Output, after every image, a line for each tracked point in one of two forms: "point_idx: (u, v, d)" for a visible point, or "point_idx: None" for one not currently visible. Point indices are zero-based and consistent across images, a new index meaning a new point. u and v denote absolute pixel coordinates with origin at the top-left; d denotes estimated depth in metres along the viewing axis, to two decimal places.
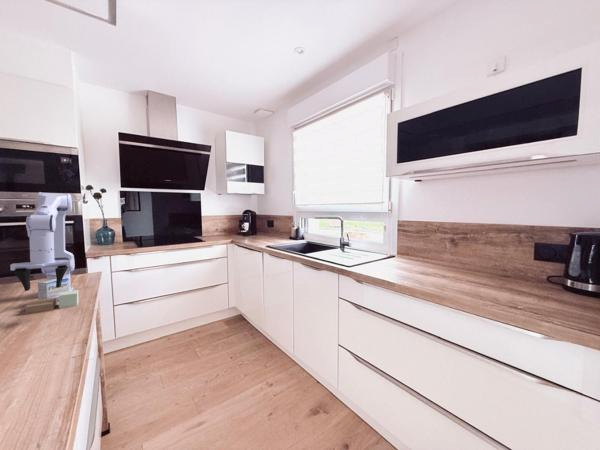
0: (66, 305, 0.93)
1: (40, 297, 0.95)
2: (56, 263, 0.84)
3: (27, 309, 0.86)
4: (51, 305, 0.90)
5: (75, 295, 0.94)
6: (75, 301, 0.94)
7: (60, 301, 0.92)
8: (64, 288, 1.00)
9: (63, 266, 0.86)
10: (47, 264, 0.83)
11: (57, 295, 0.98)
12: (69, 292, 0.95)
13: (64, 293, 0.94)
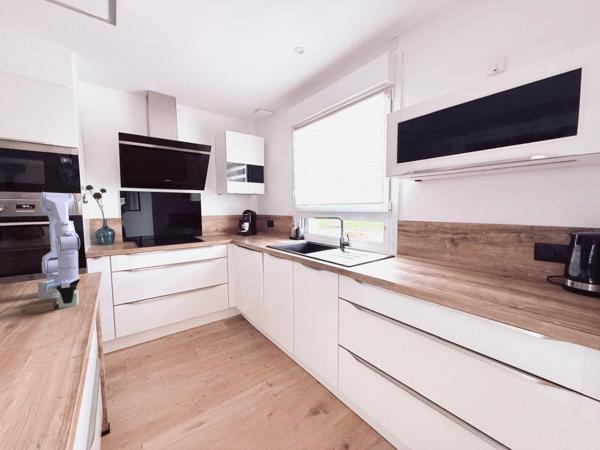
0: (66, 305, 0.93)
1: (40, 297, 0.95)
2: (60, 281, 0.90)
3: (27, 309, 0.86)
4: (51, 305, 0.90)
5: (74, 295, 0.94)
6: (75, 301, 0.94)
7: (60, 301, 0.92)
8: None
9: None
10: (58, 280, 0.92)
11: (57, 295, 0.98)
12: None
13: None
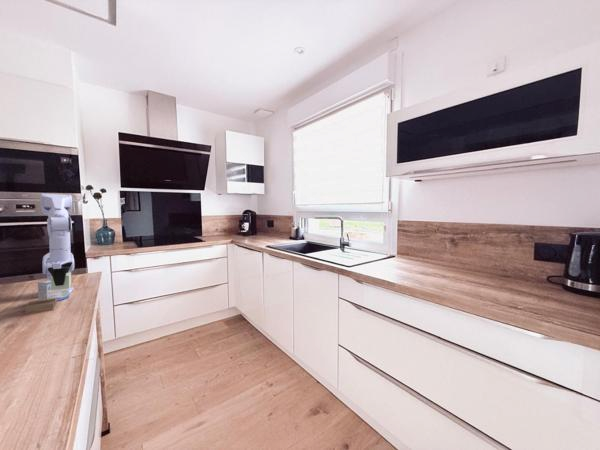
0: (58, 287, 0.91)
1: (40, 297, 0.95)
2: (51, 263, 0.89)
3: (27, 309, 0.86)
4: (51, 305, 0.90)
5: (67, 278, 0.93)
6: (67, 283, 0.93)
7: (52, 283, 0.90)
8: None
9: None
10: (49, 262, 0.90)
11: (57, 295, 0.98)
12: None
13: None
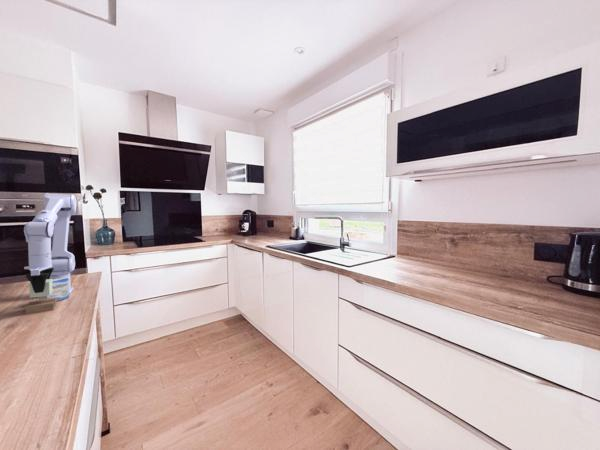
0: (38, 294, 0.88)
1: (40, 297, 0.95)
2: (30, 269, 0.86)
3: (27, 309, 0.86)
4: (52, 305, 0.90)
5: (47, 284, 0.89)
6: (47, 290, 0.90)
7: (31, 290, 0.87)
8: (64, 288, 1.00)
9: None
10: (28, 268, 0.87)
11: (57, 295, 0.98)
12: None
13: None
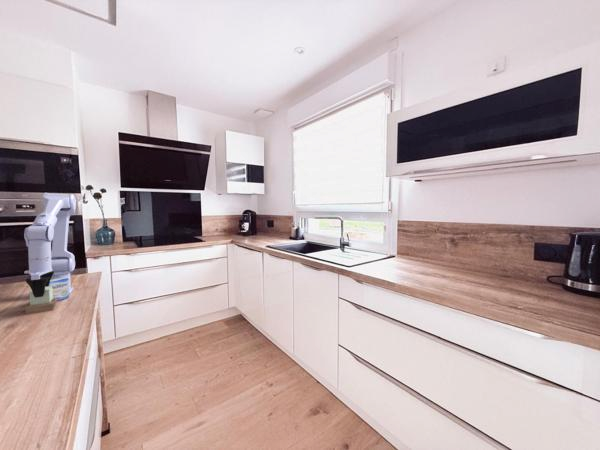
0: (38, 302, 0.88)
1: None
2: (30, 273, 0.86)
3: (28, 309, 0.86)
4: (52, 305, 0.90)
5: (47, 292, 0.90)
6: (48, 297, 0.90)
7: (31, 297, 0.87)
8: (64, 288, 1.00)
9: None
10: (28, 272, 0.87)
11: (57, 295, 0.98)
12: None
13: None
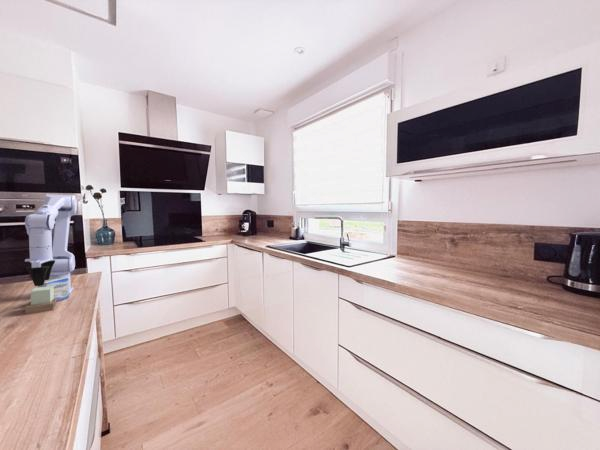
0: (38, 301, 0.89)
1: None
2: (31, 261, 0.86)
3: (27, 309, 0.86)
4: (51, 305, 0.90)
5: (48, 292, 0.90)
6: (48, 297, 0.90)
7: (32, 297, 0.88)
8: (64, 288, 1.00)
9: None
10: (29, 260, 0.87)
11: (57, 295, 0.98)
12: (43, 288, 0.91)
13: (37, 289, 0.90)
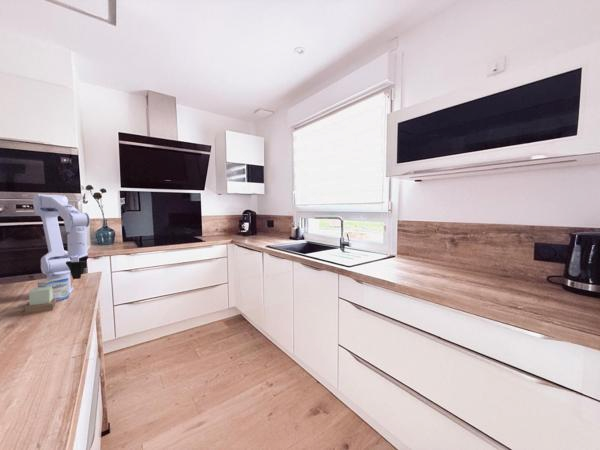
0: (37, 302, 0.88)
1: None
2: (69, 256, 0.93)
3: (27, 309, 0.86)
4: (51, 305, 0.90)
5: (47, 292, 0.89)
6: (47, 298, 0.90)
7: (31, 298, 0.87)
8: (64, 288, 1.00)
9: None
10: (68, 256, 0.95)
11: (57, 295, 0.98)
12: (41, 288, 0.90)
13: (36, 289, 0.89)
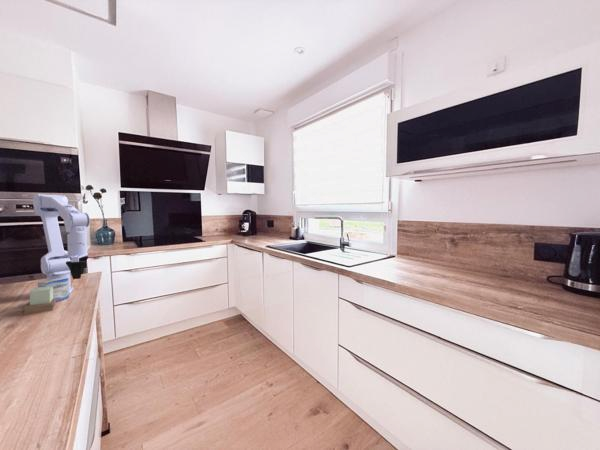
0: (38, 302, 0.88)
1: None
2: (69, 256, 0.93)
3: (27, 309, 0.86)
4: (51, 305, 0.90)
5: (47, 292, 0.90)
6: (48, 298, 0.90)
7: (31, 297, 0.87)
8: (64, 288, 1.00)
9: None
10: (68, 256, 0.95)
11: (57, 295, 0.98)
12: (42, 288, 0.91)
13: (36, 289, 0.89)
